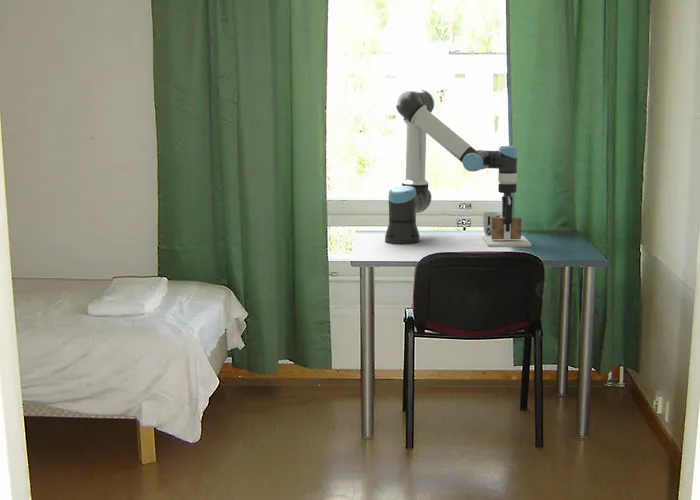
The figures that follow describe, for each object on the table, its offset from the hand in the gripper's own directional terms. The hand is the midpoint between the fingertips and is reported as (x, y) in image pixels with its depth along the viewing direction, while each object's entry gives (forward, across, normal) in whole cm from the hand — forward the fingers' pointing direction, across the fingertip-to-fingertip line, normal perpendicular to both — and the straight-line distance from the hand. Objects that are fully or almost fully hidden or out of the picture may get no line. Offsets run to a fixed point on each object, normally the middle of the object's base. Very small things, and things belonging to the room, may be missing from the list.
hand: (506, 238), depth 363 cm
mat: (+2, +1, 0) cm, 2 cm away
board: (0, 0, 0) cm, 0 cm away
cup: (+2, +19, +4) cm, 20 cm away
